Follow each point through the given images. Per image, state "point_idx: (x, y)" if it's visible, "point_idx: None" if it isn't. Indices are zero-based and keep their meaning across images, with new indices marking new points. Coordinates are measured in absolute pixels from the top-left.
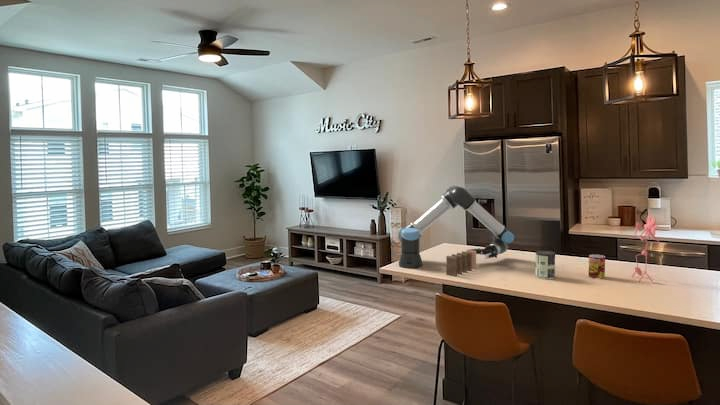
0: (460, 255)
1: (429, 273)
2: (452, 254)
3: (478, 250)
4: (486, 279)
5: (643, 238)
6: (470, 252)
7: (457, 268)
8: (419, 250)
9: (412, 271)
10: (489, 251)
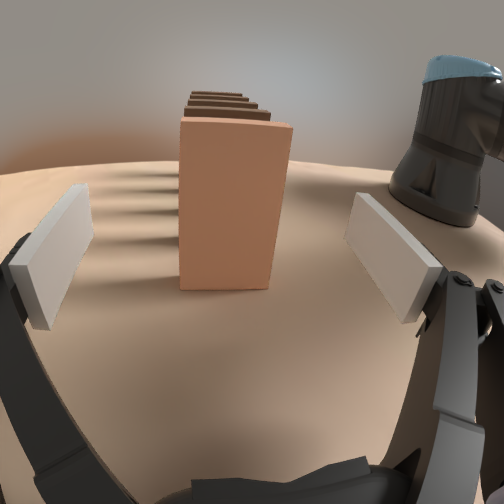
0: (197, 95)
1: (291, 169)
2: (246, 97)
3: (434, 380)
4: (56, 191)
5: None
6: (195, 108)
7: None
8: (439, 143)
9: (346, 170)
10: (92, 452)
